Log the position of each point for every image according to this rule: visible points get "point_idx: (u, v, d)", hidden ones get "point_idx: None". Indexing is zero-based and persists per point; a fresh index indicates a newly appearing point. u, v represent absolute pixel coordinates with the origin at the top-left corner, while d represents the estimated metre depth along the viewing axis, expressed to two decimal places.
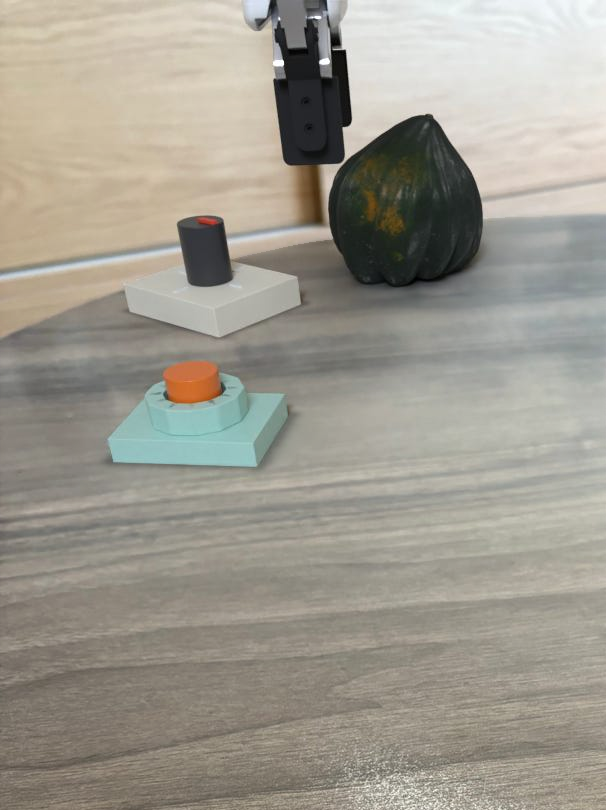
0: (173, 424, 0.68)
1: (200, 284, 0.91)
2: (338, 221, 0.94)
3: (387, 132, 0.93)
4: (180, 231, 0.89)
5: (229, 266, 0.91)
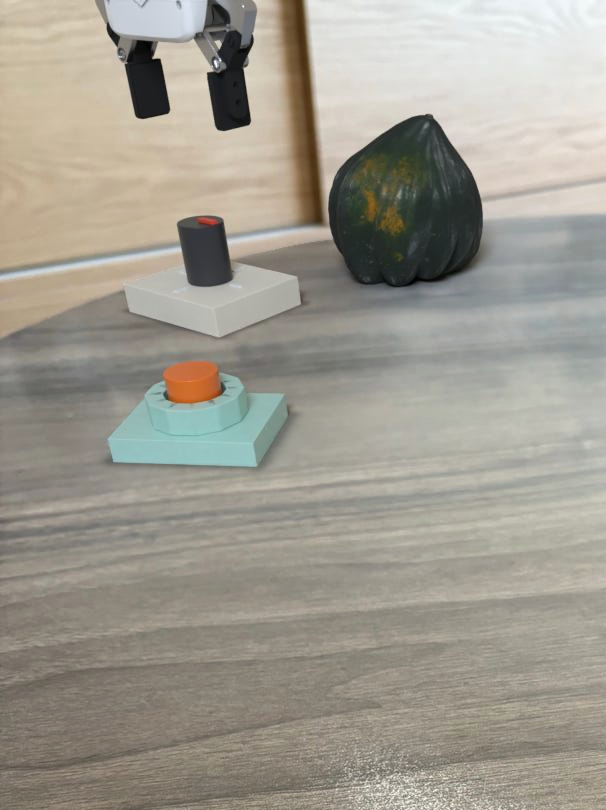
0: (173, 424, 0.68)
1: (200, 284, 0.91)
2: (338, 221, 0.94)
3: (387, 132, 0.93)
4: (180, 231, 0.89)
5: (229, 266, 0.91)
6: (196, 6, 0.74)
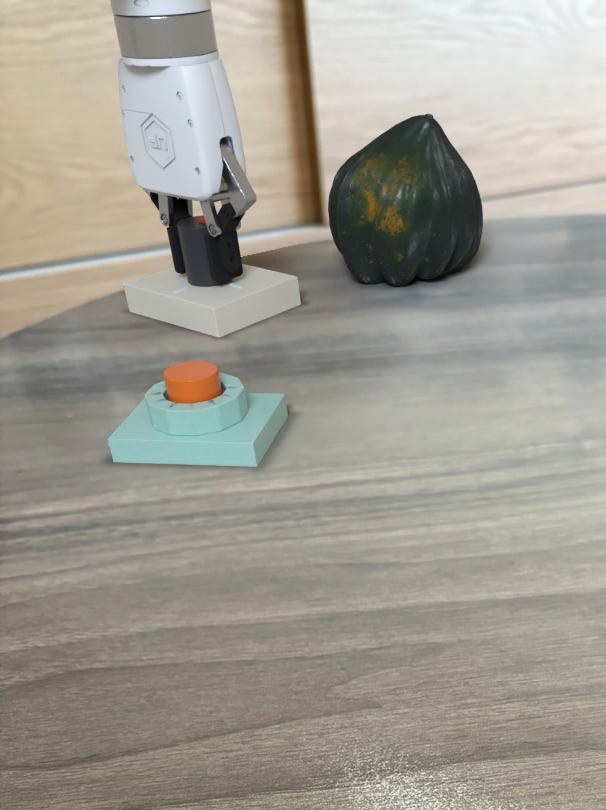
0: (173, 424, 0.68)
1: (200, 284, 0.91)
2: (338, 221, 0.94)
3: (387, 132, 0.93)
4: (180, 231, 0.89)
5: None
6: (213, 172, 0.83)
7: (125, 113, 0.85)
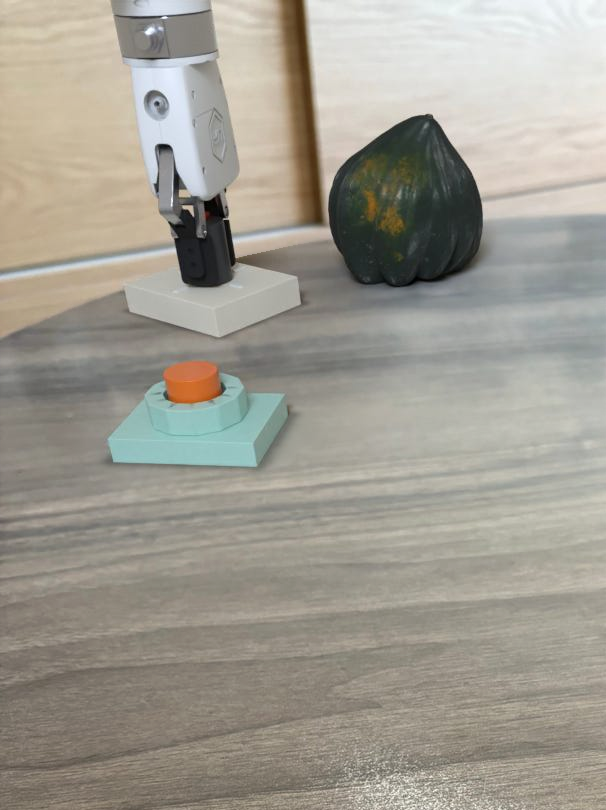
0: (173, 424, 0.68)
1: (232, 274, 0.93)
2: (338, 221, 0.94)
3: (387, 132, 0.93)
4: (221, 228, 0.89)
5: None
6: None
7: (194, 121, 0.81)
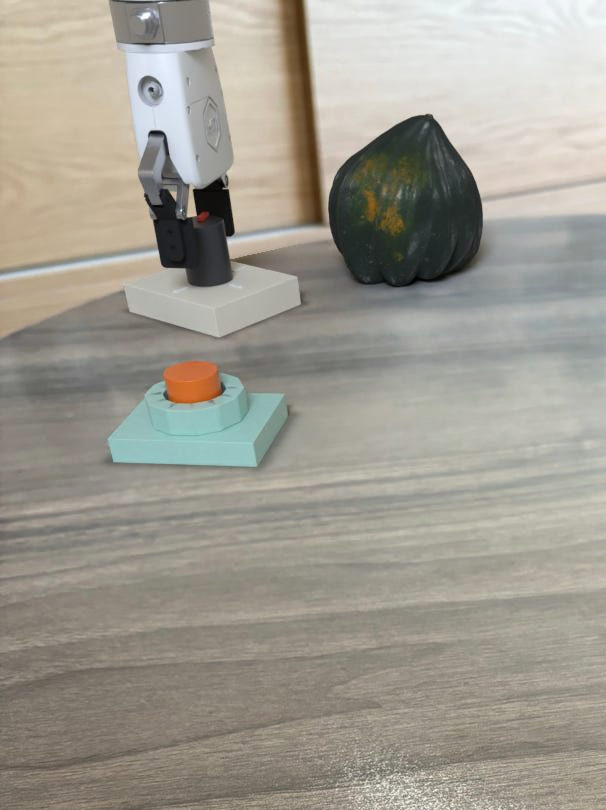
0: (173, 424, 0.68)
1: (232, 274, 0.93)
2: (338, 221, 0.94)
3: (387, 132, 0.93)
4: (221, 227, 0.89)
5: None
6: None
7: (188, 108, 0.80)
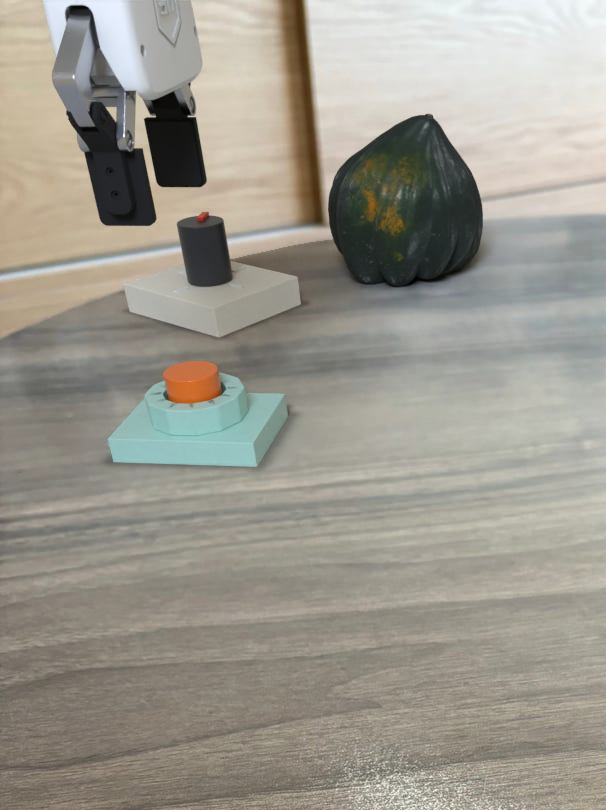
0: (173, 424, 0.68)
1: (232, 274, 0.93)
2: (338, 221, 0.94)
3: (387, 132, 0.93)
4: (221, 227, 0.89)
5: None
6: None
7: None
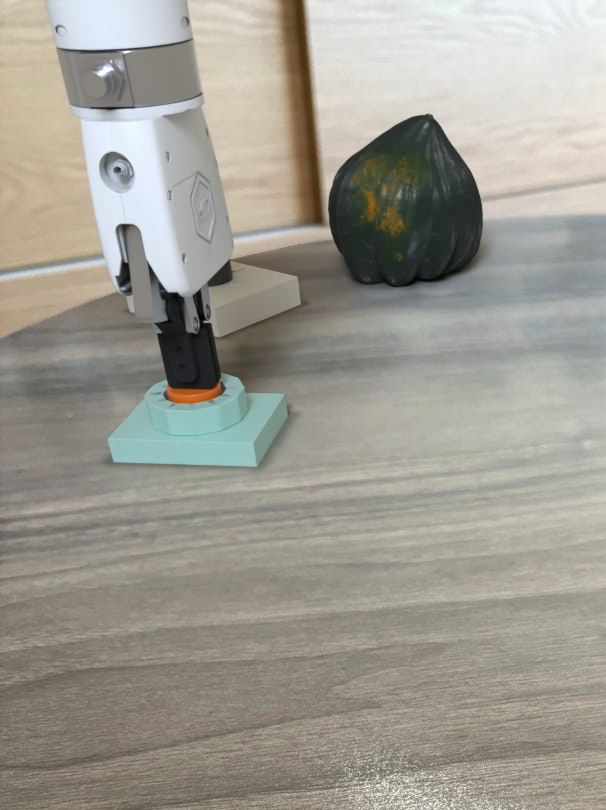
0: (173, 424, 0.68)
1: (232, 274, 0.93)
2: (338, 221, 0.94)
3: (387, 132, 0.93)
4: None
5: None
6: None
7: (170, 193, 0.58)
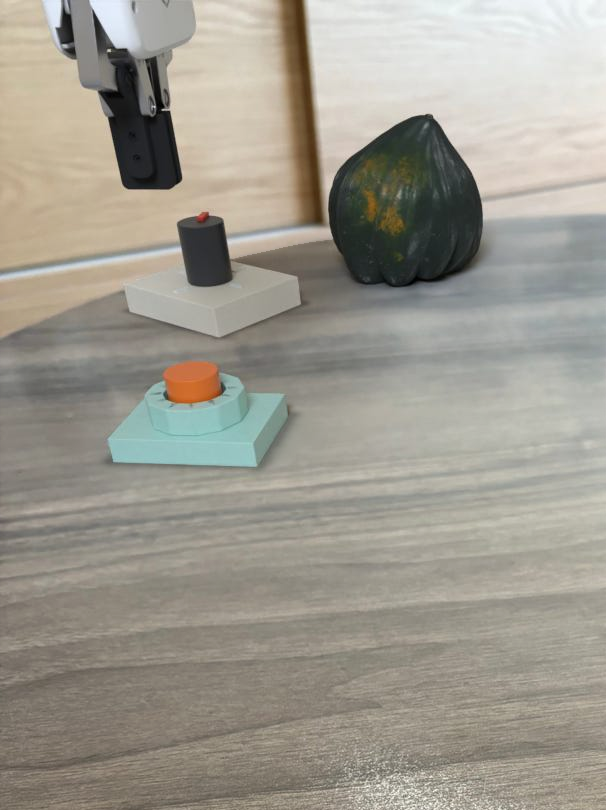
0: (173, 424, 0.68)
1: (232, 274, 0.93)
2: (338, 221, 0.94)
3: (387, 132, 0.93)
4: (221, 227, 0.89)
5: None
6: None
7: None
